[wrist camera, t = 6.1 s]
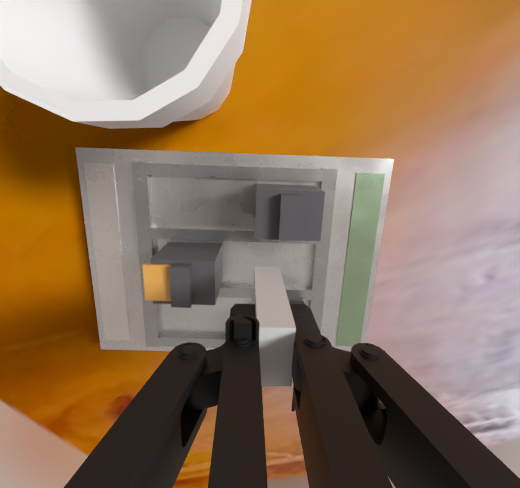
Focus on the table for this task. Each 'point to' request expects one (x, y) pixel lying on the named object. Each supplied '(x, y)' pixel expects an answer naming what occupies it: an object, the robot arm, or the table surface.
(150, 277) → the breaker
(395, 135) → the table surface
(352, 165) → the panel
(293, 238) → the block
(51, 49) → the foam cup
